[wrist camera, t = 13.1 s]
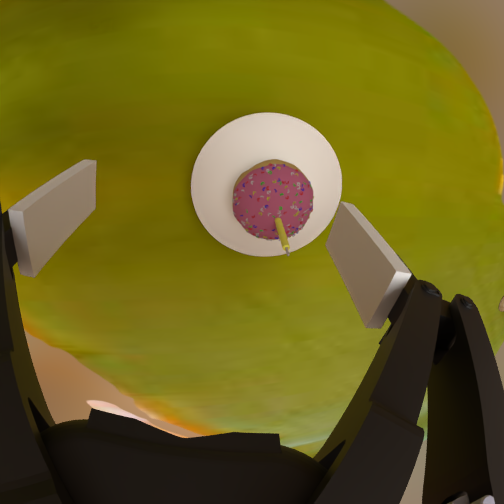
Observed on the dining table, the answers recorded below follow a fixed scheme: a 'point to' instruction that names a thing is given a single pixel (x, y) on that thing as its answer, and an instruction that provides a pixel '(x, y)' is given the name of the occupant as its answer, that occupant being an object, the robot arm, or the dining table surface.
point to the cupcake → (273, 201)
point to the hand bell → (501, 305)
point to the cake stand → (248, 155)
